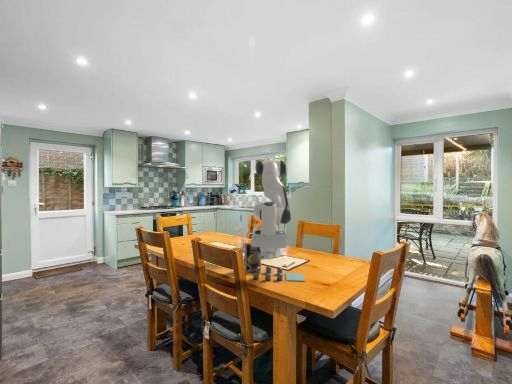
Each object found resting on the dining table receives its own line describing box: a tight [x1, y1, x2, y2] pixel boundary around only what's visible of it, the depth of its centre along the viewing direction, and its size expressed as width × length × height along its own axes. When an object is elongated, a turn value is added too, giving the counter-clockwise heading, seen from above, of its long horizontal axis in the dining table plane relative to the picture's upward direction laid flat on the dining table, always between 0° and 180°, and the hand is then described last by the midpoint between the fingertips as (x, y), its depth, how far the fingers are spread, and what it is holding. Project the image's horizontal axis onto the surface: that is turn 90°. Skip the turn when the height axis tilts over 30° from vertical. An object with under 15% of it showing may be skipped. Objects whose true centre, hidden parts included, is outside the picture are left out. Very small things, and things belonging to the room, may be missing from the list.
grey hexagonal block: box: [263, 251, 274, 260], centre depth 149 cm, size 6×5×3 cm
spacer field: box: [252, 265, 284, 282], centre depth 148 cm, size 15×16×4 cm
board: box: [285, 272, 306, 283], centre depth 147 cm, size 12×10×1 cm
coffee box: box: [243, 242, 262, 273], centre depth 159 cm, size 9×6×16 cm
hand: (268, 255), depth 149 cm, fingers closed on grey hexagonal block, 5 cm apart
